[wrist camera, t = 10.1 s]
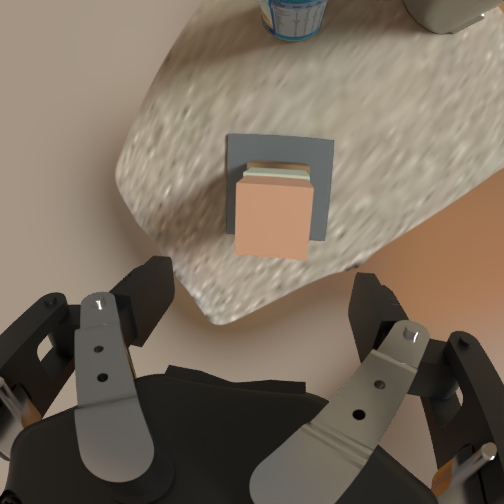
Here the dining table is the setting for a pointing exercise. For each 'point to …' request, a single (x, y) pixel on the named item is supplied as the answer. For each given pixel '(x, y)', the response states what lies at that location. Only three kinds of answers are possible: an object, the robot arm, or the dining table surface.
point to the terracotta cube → (273, 216)
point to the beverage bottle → (292, 18)
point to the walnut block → (279, 165)
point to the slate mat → (283, 150)
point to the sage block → (277, 173)
